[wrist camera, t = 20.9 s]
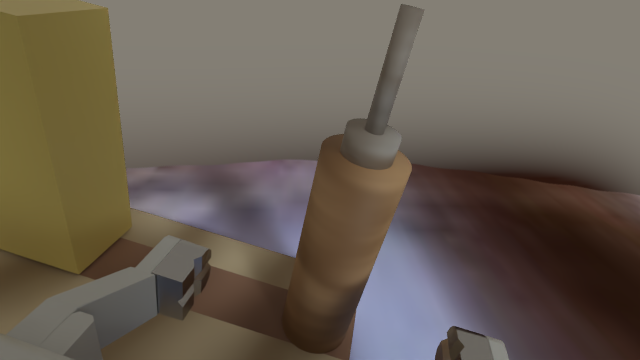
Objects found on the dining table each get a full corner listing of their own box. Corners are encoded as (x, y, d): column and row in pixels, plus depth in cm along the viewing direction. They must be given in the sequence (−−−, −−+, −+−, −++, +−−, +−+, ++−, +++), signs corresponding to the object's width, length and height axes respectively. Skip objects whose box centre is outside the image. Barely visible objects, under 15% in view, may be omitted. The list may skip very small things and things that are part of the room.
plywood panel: (355, 291, 22) (360, 278, 21) (300, 662, 10) (307, 657, 9) (67, 202, 23) (64, 187, 23) (-284, 433, 11) (-312, 417, 11)
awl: (344, 298, 20) (448, 12, 12) (349, 357, 17) (491, 29, 9) (284, 291, 19) (351, -11, 11) (279, 350, 16) (363, -1, 8)
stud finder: (79, 274, 17) (17, 16, 11) (-28, 240, 18) (-146, -28, 11) (133, 224, 21) (110, 7, 15) (43, 197, 21) (-17, -26, 15)
